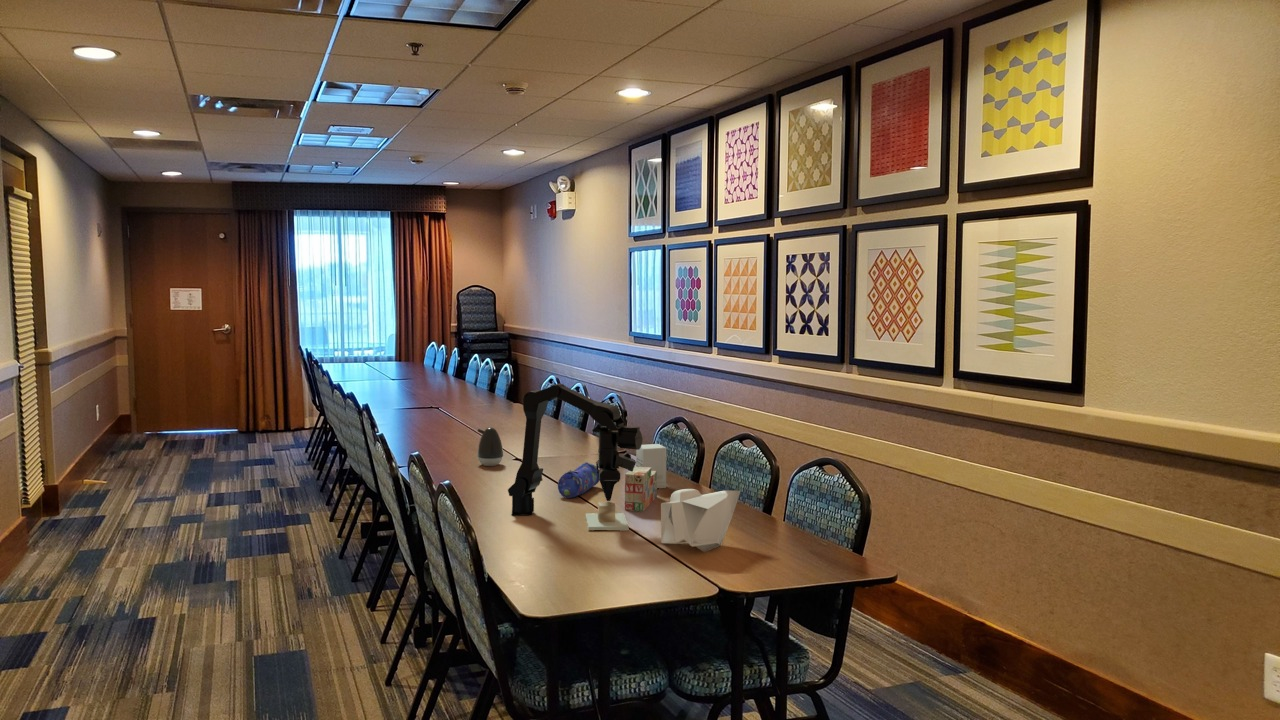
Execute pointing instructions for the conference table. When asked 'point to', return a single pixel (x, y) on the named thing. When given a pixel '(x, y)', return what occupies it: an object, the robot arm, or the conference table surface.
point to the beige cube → (606, 511)
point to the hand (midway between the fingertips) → (607, 497)
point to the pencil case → (578, 480)
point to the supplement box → (653, 461)
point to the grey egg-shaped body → (490, 447)
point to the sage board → (596, 525)
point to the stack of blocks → (640, 488)
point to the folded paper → (697, 517)
